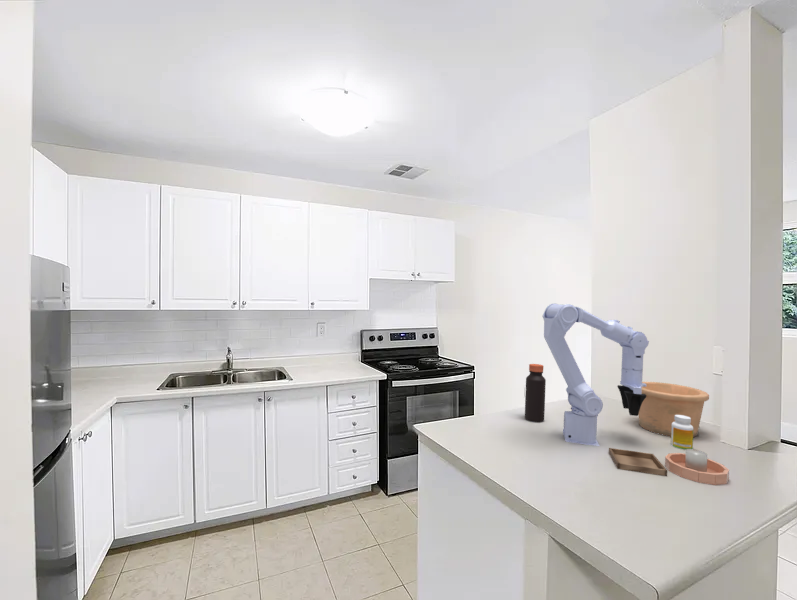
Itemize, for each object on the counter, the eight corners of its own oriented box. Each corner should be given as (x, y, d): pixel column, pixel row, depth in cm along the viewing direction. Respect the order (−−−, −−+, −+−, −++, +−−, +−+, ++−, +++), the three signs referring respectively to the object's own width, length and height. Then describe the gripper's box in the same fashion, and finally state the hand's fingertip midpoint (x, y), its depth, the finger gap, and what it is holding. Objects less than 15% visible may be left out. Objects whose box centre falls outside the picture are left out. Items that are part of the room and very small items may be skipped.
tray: (617, 470, 99) (617, 463, 99) (608, 454, 110) (608, 447, 110) (666, 478, 96) (667, 470, 96) (652, 461, 106) (653, 453, 106)
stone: (689, 473, 97) (689, 454, 97) (682, 466, 101) (683, 447, 101) (709, 476, 96) (710, 457, 96) (702, 469, 100) (702, 450, 100)
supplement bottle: (696, 452, 113) (697, 420, 113) (676, 450, 115) (677, 418, 114) (686, 446, 119) (688, 414, 119) (667, 444, 120) (668, 413, 120)
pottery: (635, 415, 149) (636, 378, 149) (707, 429, 135) (709, 388, 135) (625, 429, 133) (627, 388, 132) (707, 446, 119) (708, 400, 119)
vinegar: (546, 419, 141) (547, 364, 141) (542, 423, 136) (544, 367, 135) (527, 415, 145) (529, 362, 145) (522, 420, 139) (524, 365, 139)
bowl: (676, 481, 95) (676, 469, 95) (659, 460, 107) (659, 450, 107) (738, 490, 91) (739, 478, 91) (713, 468, 103) (714, 457, 103)
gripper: (654, 374, 113) (652, 420, 113) (639, 366, 126) (638, 407, 127) (626, 372, 115) (625, 417, 115) (615, 364, 129) (614, 404, 129)
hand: (630, 411), depth 121 cm, fingers open, 7 cm apart
